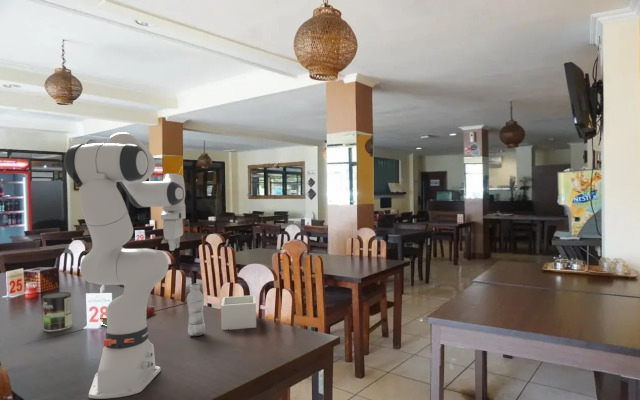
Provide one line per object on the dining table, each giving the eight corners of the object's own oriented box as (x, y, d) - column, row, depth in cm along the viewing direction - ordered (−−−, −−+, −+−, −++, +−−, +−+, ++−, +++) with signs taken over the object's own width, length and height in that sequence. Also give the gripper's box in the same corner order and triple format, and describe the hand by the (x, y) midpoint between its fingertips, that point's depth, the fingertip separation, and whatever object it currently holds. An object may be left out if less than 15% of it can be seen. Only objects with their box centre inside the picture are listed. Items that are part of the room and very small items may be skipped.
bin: (256, 327, 170) (255, 303, 170) (221, 330, 167) (220, 305, 167) (255, 317, 184) (255, 295, 183) (223, 319, 181) (222, 297, 181)
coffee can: (52, 333, 168) (51, 298, 168) (38, 329, 173) (37, 296, 173) (77, 325, 177) (76, 293, 177) (63, 322, 182) (62, 291, 182)
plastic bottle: (201, 338, 158) (199, 286, 158) (184, 337, 159) (182, 286, 159) (208, 332, 164) (206, 282, 164) (192, 332, 165) (190, 282, 165)
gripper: (170, 214, 174) (171, 246, 174) (159, 215, 154) (160, 252, 154) (186, 213, 175) (187, 246, 175) (177, 214, 155) (178, 251, 155)
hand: (174, 249), depth 164 cm, fingers open, 8 cm apart
